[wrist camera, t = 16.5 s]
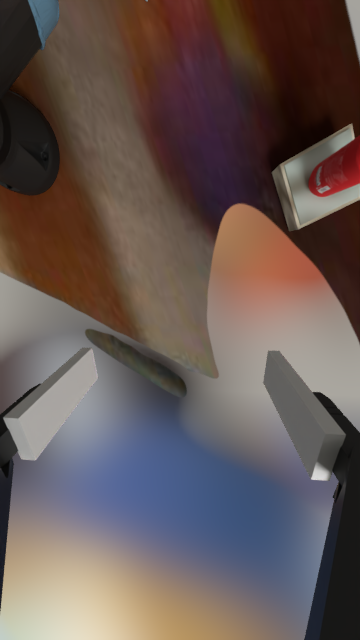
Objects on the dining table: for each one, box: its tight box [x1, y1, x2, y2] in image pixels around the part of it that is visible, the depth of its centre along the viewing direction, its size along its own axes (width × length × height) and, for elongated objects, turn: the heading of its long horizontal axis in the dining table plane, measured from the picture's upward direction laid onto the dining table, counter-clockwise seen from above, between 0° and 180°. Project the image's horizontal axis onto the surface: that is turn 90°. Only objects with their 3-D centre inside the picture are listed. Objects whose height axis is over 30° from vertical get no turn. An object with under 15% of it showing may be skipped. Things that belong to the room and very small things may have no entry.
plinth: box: [272, 124, 360, 231], centre depth 34 cm, size 11×11×4 cm
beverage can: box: [308, 136, 360, 197], centre depth 27 cm, size 5×5×12 cm
